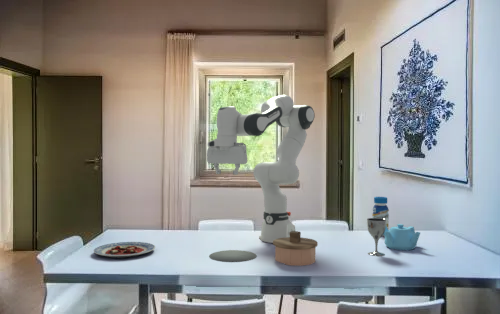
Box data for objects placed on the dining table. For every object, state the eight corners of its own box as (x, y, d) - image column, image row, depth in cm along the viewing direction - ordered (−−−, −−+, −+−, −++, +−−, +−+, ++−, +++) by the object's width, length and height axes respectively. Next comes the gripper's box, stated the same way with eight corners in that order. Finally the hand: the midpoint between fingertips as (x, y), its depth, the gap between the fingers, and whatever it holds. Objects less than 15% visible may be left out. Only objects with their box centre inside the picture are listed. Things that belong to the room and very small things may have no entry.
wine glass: (386, 252, 182) (386, 218, 182) (385, 257, 174) (386, 221, 174) (367, 251, 184) (367, 217, 184) (366, 255, 177) (366, 220, 177)
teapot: (421, 252, 183) (421, 227, 183) (385, 250, 186) (385, 226, 186) (415, 244, 198) (415, 222, 198) (382, 243, 201) (382, 221, 201)
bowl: (287, 253, 180) (287, 238, 180) (321, 258, 171) (321, 243, 171) (268, 261, 167) (268, 245, 167) (303, 267, 158) (303, 250, 158)
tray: (228, 249, 188) (228, 248, 188) (265, 255, 177) (265, 254, 177) (199, 258, 172) (199, 257, 172) (238, 265, 160) (238, 264, 160)
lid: (286, 237, 181) (286, 226, 181) (324, 243, 171) (324, 230, 171) (264, 245, 167) (264, 233, 166) (304, 251, 156) (305, 238, 156)
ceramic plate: (149, 260, 169) (149, 253, 169) (85, 261, 168) (85, 253, 167) (159, 246, 195) (159, 239, 195) (103, 246, 193) (103, 240, 193)
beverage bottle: (388, 233, 225) (388, 196, 225) (389, 236, 217) (389, 198, 216) (371, 232, 227) (372, 196, 227) (372, 235, 219) (372, 197, 218)
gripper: (250, 142, 180) (250, 174, 180) (213, 143, 191) (213, 173, 192) (241, 142, 175) (241, 175, 175) (204, 142, 186) (204, 173, 186)
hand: (226, 174), depth 183 cm, fingers open, 8 cm apart
